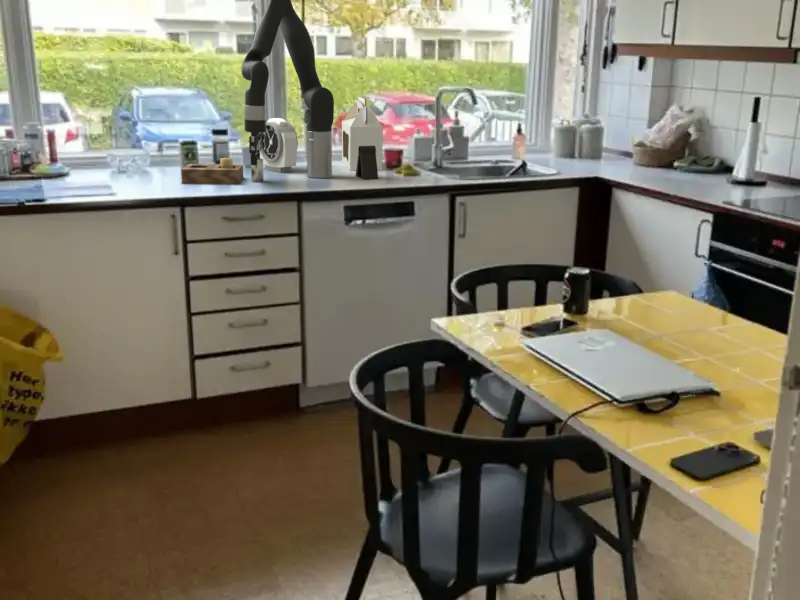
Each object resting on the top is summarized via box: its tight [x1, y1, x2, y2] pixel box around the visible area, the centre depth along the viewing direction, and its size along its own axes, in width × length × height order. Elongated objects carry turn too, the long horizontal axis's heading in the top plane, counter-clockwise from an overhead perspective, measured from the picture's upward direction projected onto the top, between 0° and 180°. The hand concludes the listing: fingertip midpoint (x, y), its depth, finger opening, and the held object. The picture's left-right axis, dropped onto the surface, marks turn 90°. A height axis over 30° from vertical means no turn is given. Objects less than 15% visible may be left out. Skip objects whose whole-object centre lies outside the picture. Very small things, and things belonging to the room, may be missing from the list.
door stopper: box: [355, 146, 379, 181], centre depth 325 cm, size 9×6×12 cm, turn 22°
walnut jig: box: [180, 157, 245, 185], centre depth 311 cm, size 20×14×8 cm
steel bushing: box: [250, 158, 265, 183], centre depth 312 cm, size 4×4×8 cm
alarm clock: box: [259, 117, 299, 173], centre depth 337 cm, size 18×8×20 cm, turn 42°
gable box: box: [341, 96, 384, 172], centre depth 350 cm, size 22×13×28 cm, turn 12°
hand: (255, 163), depth 311 cm, fingers open, 8 cm apart
